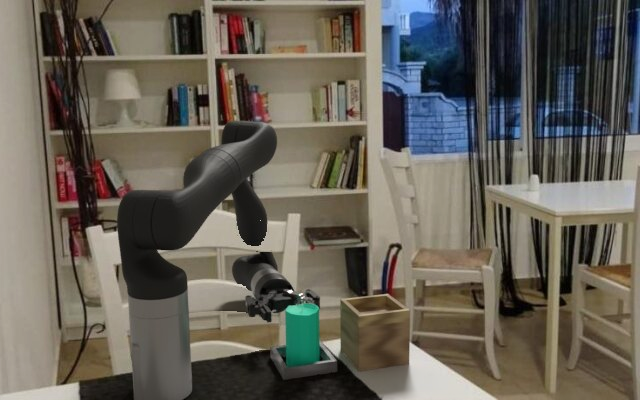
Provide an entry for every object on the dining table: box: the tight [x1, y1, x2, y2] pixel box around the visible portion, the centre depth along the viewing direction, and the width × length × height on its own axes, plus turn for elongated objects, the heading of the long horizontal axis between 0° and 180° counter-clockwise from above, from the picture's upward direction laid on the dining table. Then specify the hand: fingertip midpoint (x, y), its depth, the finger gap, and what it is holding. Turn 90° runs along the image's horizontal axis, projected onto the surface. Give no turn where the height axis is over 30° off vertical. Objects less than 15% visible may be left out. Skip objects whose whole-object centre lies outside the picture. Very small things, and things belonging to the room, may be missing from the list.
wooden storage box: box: [339, 293, 411, 372], centre depth 115 cm, size 10×10×10 cm
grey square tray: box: [269, 340, 338, 381], centre depth 112 cm, size 10×10×2 cm
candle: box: [284, 302, 321, 366], centre depth 111 cm, size 6×6×12 cm
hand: (292, 314), depth 117 cm, fingers open, 8 cm apart
